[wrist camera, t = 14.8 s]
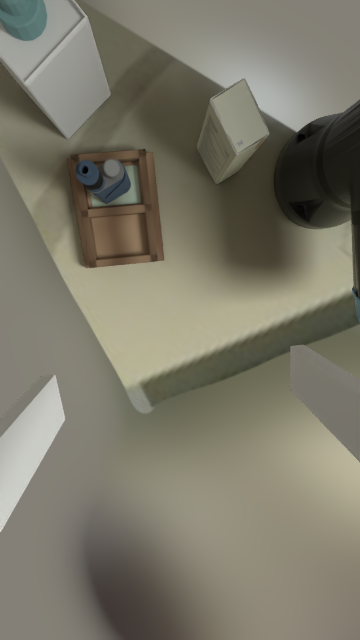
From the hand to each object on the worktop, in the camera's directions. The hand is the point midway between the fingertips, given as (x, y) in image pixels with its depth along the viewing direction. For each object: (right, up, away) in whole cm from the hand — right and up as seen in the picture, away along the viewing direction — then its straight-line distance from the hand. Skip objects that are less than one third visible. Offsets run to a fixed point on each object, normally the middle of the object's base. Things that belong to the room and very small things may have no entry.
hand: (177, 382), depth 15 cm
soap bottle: (-15, +35, +22) cm, 44 cm away
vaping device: (-9, +22, +24) cm, 34 cm away
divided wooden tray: (-9, +20, +26) cm, 34 cm away
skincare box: (+6, +28, +26) cm, 38 cm away
